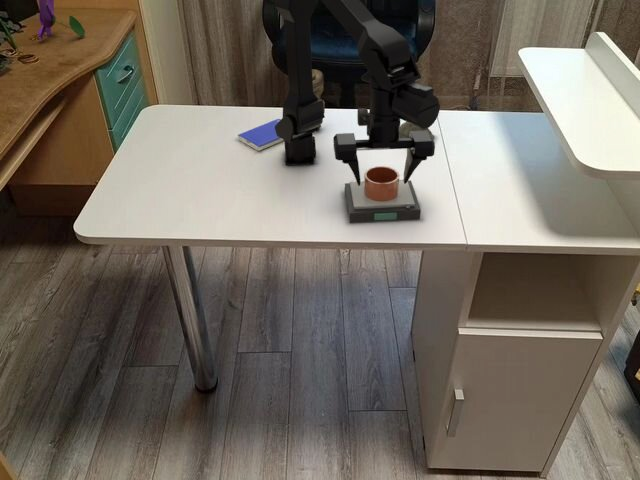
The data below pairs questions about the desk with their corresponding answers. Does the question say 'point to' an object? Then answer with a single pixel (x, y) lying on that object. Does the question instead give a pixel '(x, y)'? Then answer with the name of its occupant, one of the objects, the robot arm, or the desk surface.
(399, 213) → the scale
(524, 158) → the desk surface
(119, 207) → the desk surface
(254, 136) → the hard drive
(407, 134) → the sword in stone
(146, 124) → the desk surface
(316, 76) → the light bulb
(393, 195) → the bowl
